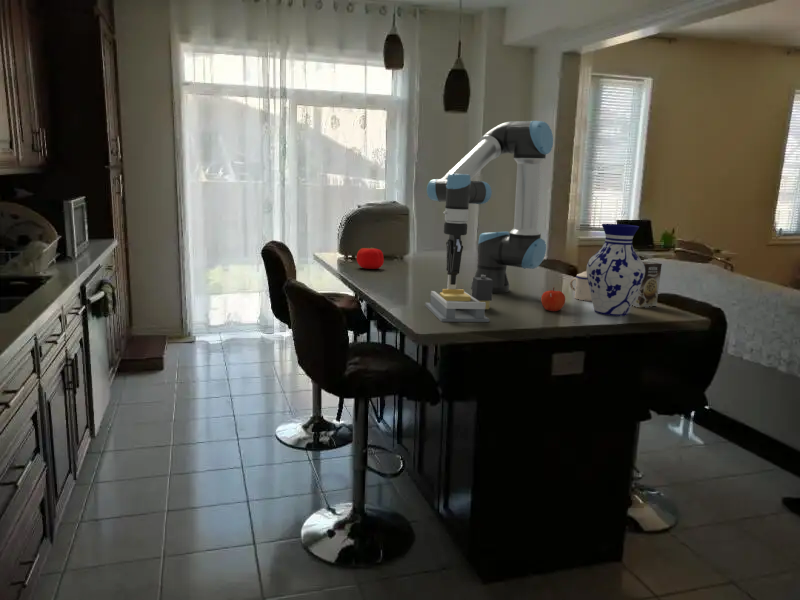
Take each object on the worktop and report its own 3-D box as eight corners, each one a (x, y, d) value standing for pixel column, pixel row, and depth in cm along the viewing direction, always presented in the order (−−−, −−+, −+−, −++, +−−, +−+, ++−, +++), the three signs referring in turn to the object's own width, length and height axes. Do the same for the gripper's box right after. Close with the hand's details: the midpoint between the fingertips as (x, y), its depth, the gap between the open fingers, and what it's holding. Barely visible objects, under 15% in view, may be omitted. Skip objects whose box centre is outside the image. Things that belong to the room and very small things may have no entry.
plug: (486, 306, 221) (488, 274, 219) (490, 309, 216) (493, 276, 214) (471, 306, 220) (473, 273, 218) (475, 309, 215) (477, 276, 213)
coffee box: (639, 308, 231) (644, 263, 228) (625, 304, 236) (630, 261, 233) (657, 307, 235) (662, 263, 232) (643, 303, 241) (648, 261, 238)
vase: (608, 320, 208) (618, 227, 202) (570, 308, 225) (579, 222, 219) (652, 317, 215) (663, 228, 210) (613, 306, 232) (622, 223, 227)
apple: (560, 313, 214) (562, 290, 212) (537, 310, 218) (539, 287, 217) (567, 310, 221) (569, 287, 219) (544, 307, 225) (546, 284, 223)
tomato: (382, 271, 293) (383, 248, 291) (355, 269, 293) (356, 247, 291) (383, 267, 304) (384, 246, 302) (357, 266, 304) (357, 245, 302)
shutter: (464, 297, 212) (465, 289, 211) (470, 301, 205) (470, 292, 205) (439, 296, 210) (440, 288, 210) (444, 300, 204) (444, 292, 203)
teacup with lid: (602, 299, 244) (606, 269, 242) (591, 302, 238) (594, 271, 236) (574, 295, 253) (577, 265, 251) (562, 297, 246) (565, 267, 244)
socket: (467, 305, 220) (468, 288, 219) (489, 322, 196) (490, 302, 195) (424, 305, 217) (425, 288, 216) (441, 321, 194) (442, 302, 192)
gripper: (440, 220, 213) (436, 290, 217) (449, 223, 200) (444, 297, 204) (462, 221, 214) (457, 290, 218) (472, 224, 201) (467, 297, 206)
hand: (451, 293), depth 211 cm, fingers closed
